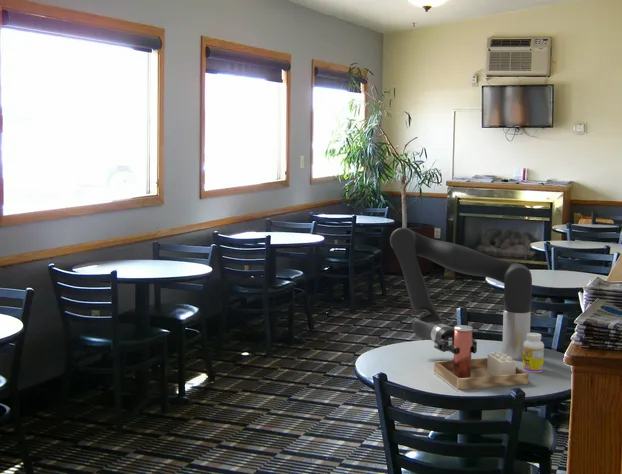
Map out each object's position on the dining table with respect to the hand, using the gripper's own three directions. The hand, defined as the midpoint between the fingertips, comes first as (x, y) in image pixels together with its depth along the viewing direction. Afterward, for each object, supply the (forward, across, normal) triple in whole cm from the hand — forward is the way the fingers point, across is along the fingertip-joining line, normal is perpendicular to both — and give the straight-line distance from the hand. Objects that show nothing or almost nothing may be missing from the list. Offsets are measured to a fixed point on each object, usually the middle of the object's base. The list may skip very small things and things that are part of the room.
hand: (466, 350), depth 256 cm
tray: (-2, +6, +11) cm, 12 cm away
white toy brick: (-2, +14, +10) cm, 17 cm away
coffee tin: (-3, 0, +9) cm, 9 cm away
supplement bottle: (-6, +27, +11) cm, 30 cm away
